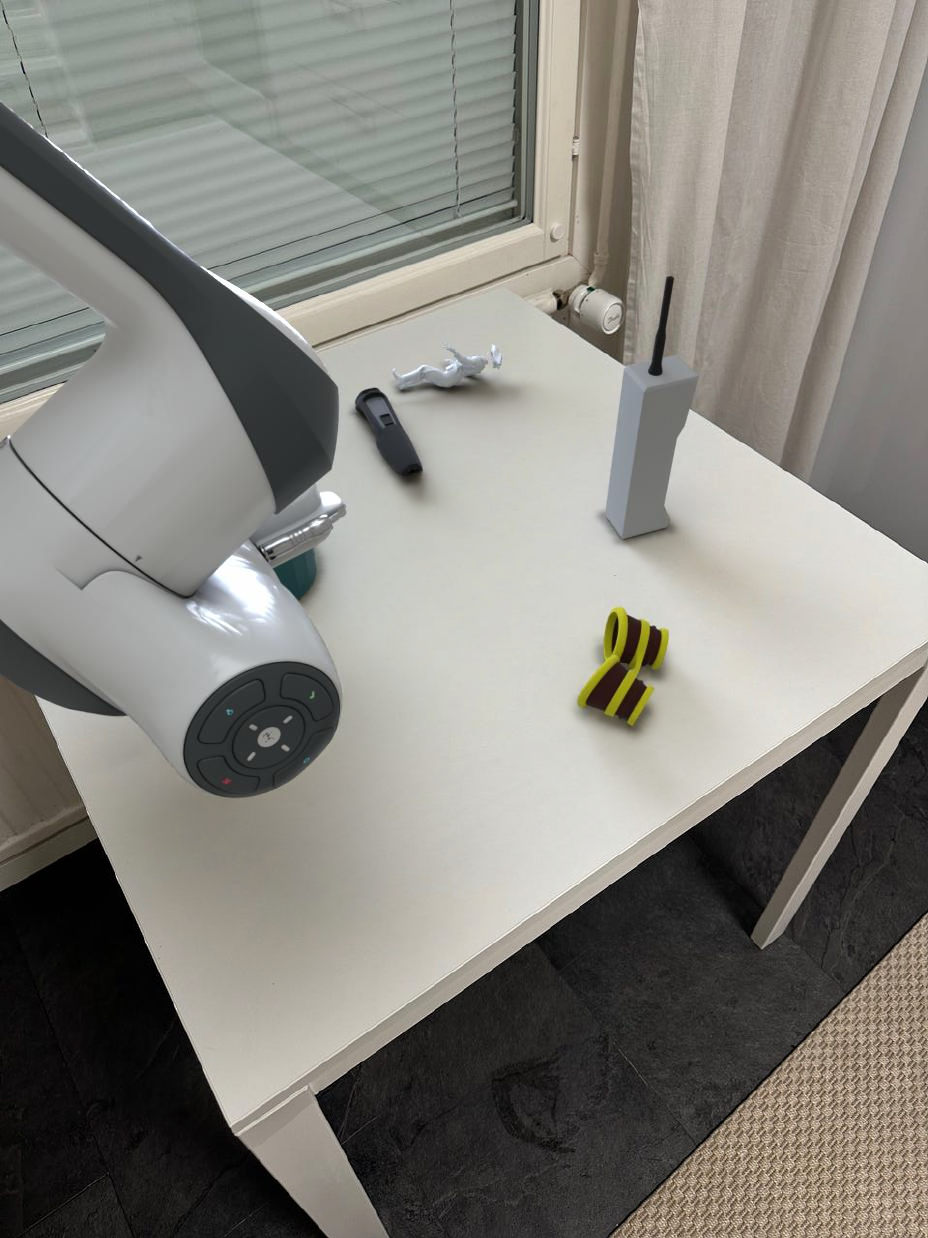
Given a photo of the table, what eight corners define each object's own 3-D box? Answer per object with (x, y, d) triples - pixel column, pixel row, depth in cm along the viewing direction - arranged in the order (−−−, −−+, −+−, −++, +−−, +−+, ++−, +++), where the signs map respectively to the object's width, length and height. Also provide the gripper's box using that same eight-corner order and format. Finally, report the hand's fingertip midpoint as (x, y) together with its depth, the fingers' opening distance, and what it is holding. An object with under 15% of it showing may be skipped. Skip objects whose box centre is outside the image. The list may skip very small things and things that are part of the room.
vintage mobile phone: (668, 528, 85) (718, 279, 67) (621, 541, 84) (659, 291, 66) (650, 504, 88) (694, 258, 69) (604, 516, 87) (636, 269, 68)
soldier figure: (395, 379, 105) (486, 333, 105) (413, 416, 106) (504, 371, 105) (389, 365, 98) (487, 316, 97) (408, 406, 98) (507, 356, 97)
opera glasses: (631, 742, 70) (652, 708, 66) (569, 715, 70) (586, 680, 67) (659, 653, 76) (680, 617, 72) (601, 629, 77) (619, 593, 73)
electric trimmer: (396, 492, 90) (394, 467, 88) (352, 408, 100) (349, 384, 97) (431, 483, 91) (430, 458, 89) (384, 401, 101) (382, 376, 98)
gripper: (336, 465, 50) (270, 414, 62) (-17, 637, 45) (-20, 548, 57) (374, 557, 54) (305, 493, 65) (49, 726, 49) (34, 626, 60)
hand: (151, 520), depth 61 cm, fingers open, 8 cm apart
